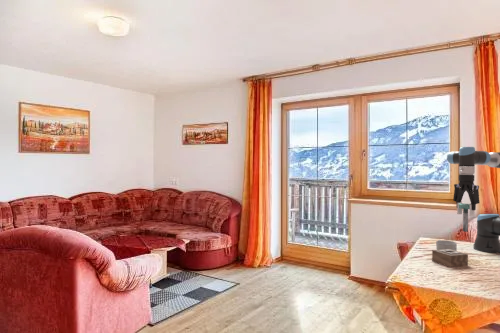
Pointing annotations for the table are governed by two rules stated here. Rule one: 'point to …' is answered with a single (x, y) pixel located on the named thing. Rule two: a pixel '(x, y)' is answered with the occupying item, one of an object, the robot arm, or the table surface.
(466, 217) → the teal rounded knob
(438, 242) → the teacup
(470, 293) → the table surface
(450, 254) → the block
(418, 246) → the table surface
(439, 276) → the table surface
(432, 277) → the table surface
